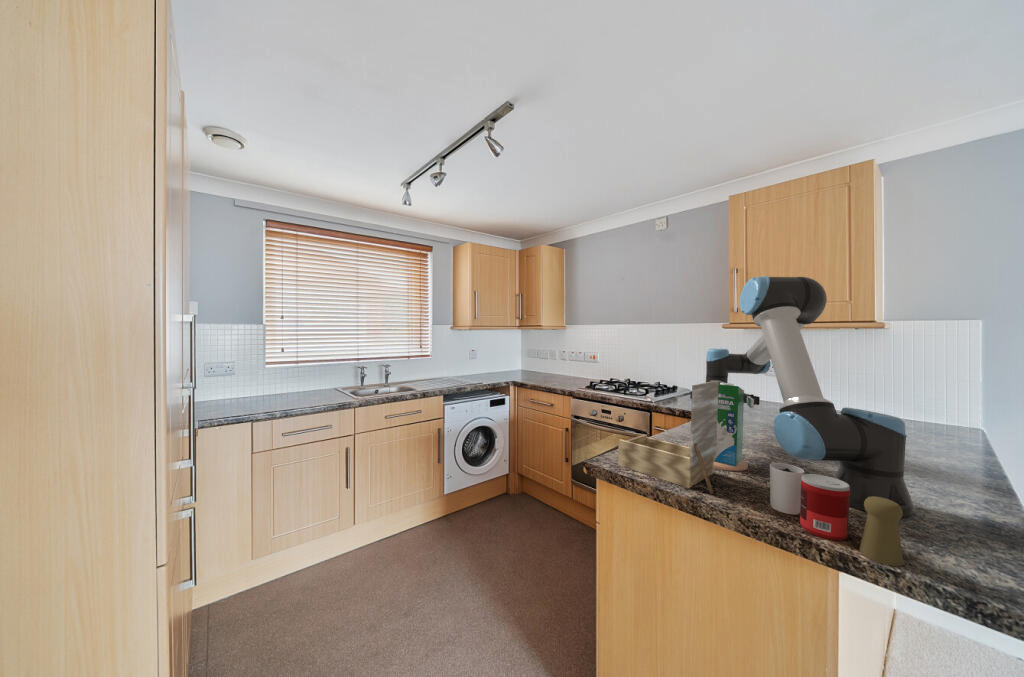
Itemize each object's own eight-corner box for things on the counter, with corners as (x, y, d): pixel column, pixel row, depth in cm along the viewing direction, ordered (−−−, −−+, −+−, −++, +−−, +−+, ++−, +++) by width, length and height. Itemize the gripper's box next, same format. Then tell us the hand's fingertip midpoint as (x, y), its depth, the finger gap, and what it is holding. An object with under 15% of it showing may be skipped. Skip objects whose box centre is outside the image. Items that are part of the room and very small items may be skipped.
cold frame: (734, 479, 107) (737, 382, 106) (711, 496, 96) (715, 388, 95) (645, 454, 128) (647, 373, 127) (618, 465, 116) (620, 376, 116)
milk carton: (742, 459, 120) (744, 383, 120) (735, 466, 114) (738, 385, 113) (711, 452, 126) (713, 380, 126) (703, 459, 120) (706, 382, 119)
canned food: (858, 542, 75) (860, 488, 75) (818, 540, 76) (820, 487, 75) (827, 522, 83) (828, 474, 83) (791, 521, 83) (792, 473, 83)
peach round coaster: (753, 464, 119) (753, 461, 119) (739, 474, 110) (739, 470, 110) (710, 454, 129) (710, 450, 129) (694, 462, 120) (694, 458, 120)
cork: (852, 551, 72) (854, 495, 72) (869, 544, 75) (871, 490, 74) (894, 569, 67) (896, 509, 66) (910, 561, 69) (912, 503, 69)
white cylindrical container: (763, 500, 93) (764, 461, 93) (793, 503, 92) (794, 464, 92) (776, 513, 87) (778, 471, 87) (808, 517, 85) (810, 474, 85)
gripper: (758, 405, 131) (773, 418, 112) (681, 399, 141) (683, 409, 122) (759, 384, 131) (774, 393, 112) (682, 379, 141) (683, 386, 121)
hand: (727, 401), depth 117 cm, fingers open, 13 cm apart
